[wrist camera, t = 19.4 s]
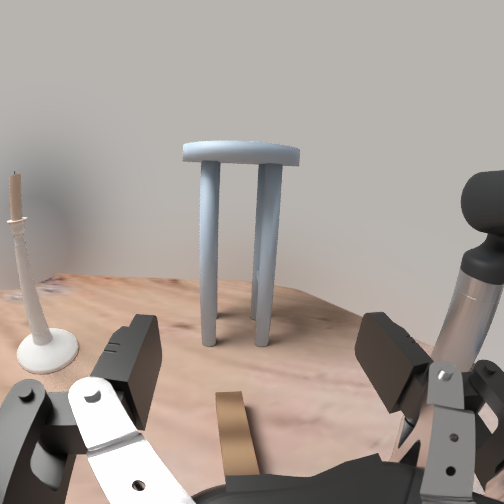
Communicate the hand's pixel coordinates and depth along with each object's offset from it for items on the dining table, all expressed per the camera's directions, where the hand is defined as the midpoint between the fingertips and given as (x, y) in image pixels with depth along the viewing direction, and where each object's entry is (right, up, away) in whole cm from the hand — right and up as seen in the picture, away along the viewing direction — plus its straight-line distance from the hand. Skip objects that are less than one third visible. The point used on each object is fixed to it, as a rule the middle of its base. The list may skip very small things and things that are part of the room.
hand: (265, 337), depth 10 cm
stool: (-4, -11, +40) cm, 42 cm away
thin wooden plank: (-1, -21, +10) cm, 23 cm away
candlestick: (-36, -14, +25) cm, 46 cm away
